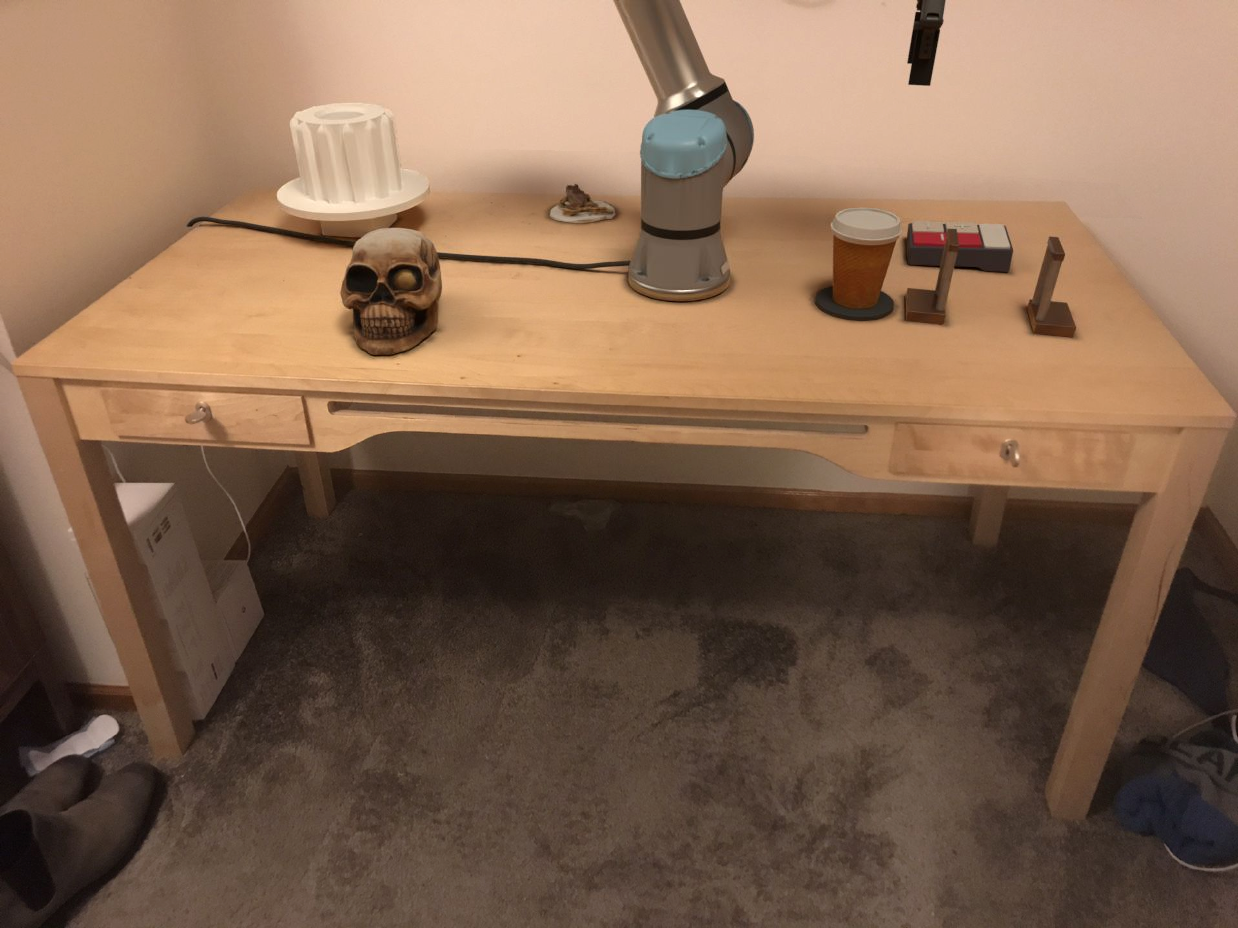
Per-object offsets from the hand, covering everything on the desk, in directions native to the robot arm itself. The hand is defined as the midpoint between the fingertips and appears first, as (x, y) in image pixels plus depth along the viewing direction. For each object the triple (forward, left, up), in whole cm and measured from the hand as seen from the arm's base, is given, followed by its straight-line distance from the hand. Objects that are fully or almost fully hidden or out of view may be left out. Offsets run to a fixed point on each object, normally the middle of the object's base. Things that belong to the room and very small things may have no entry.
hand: (918, 74), depth 121 cm
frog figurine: (-53, +16, -29) cm, 62 cm away
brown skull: (-65, -33, -29) cm, 78 cm away
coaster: (-4, -12, -29) cm, 31 cm away
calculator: (+11, +10, -29) cm, 32 cm away
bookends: (+14, -12, -29) cm, 34 cm away
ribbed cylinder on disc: (-88, 0, -29) cm, 93 cm away
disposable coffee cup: (-4, -12, -28) cm, 31 cm away
